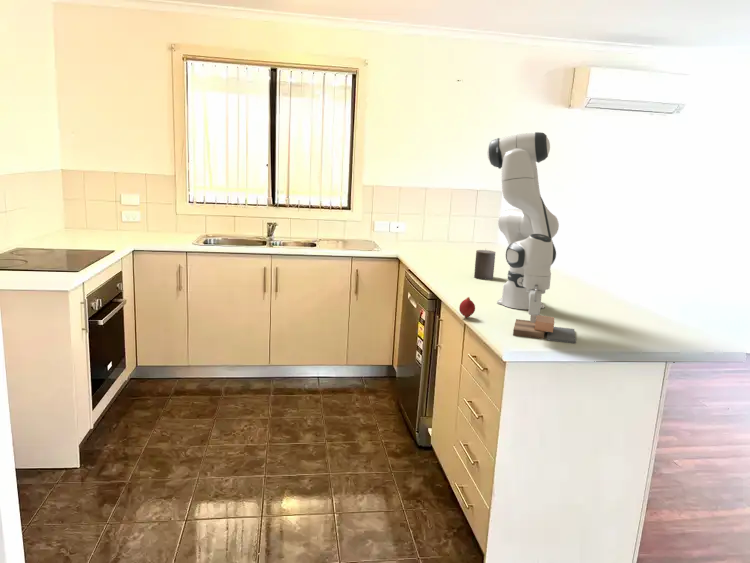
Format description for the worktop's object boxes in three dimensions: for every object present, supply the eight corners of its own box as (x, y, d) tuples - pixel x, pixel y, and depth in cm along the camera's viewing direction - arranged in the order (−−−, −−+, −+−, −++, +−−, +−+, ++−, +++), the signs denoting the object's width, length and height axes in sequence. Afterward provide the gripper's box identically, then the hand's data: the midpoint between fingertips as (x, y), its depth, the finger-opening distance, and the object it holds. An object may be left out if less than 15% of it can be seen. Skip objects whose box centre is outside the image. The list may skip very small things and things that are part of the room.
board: (515, 324, 203) (516, 319, 202) (544, 327, 200) (544, 322, 199) (512, 335, 190) (513, 329, 189) (543, 338, 187) (544, 333, 186)
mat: (547, 328, 200) (547, 325, 199) (574, 331, 197) (574, 328, 197) (546, 340, 186) (547, 337, 185) (575, 343, 183) (575, 341, 183)
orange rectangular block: (535, 322, 198) (536, 314, 197) (553, 325, 196) (554, 317, 196) (534, 329, 190) (535, 321, 189) (552, 332, 188) (554, 323, 187)
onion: (456, 317, 209) (457, 297, 207) (462, 314, 214) (464, 294, 212) (470, 320, 206) (472, 299, 204) (476, 317, 211) (478, 296, 209)
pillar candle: (472, 278, 283) (475, 249, 280) (475, 275, 292) (477, 246, 289) (492, 280, 281) (495, 251, 277) (494, 277, 290) (496, 248, 286)
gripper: (546, 289, 180) (542, 330, 183) (545, 277, 199) (542, 315, 202) (526, 287, 182) (522, 328, 185) (527, 276, 201) (524, 313, 204)
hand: (532, 321), depth 194 cm, fingers closed
